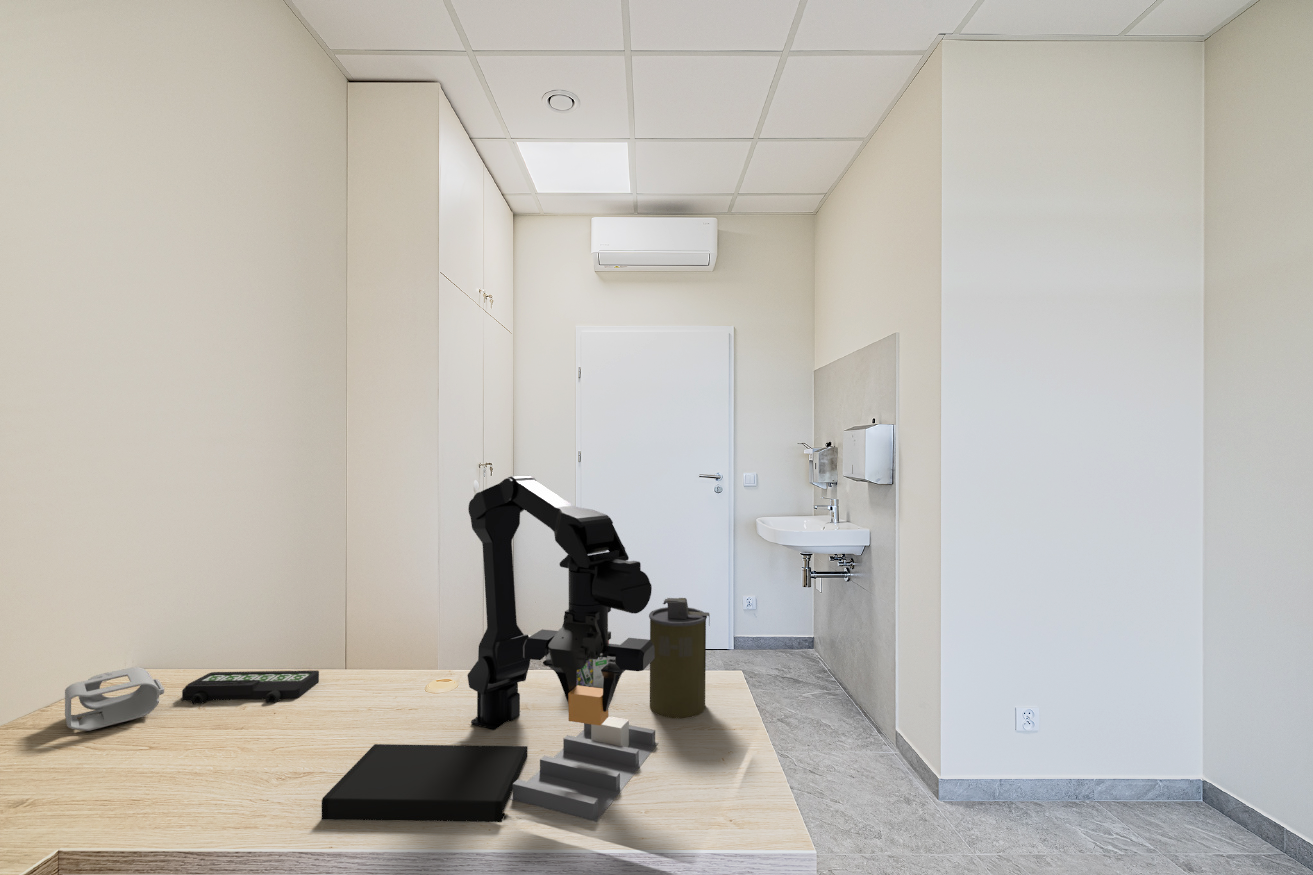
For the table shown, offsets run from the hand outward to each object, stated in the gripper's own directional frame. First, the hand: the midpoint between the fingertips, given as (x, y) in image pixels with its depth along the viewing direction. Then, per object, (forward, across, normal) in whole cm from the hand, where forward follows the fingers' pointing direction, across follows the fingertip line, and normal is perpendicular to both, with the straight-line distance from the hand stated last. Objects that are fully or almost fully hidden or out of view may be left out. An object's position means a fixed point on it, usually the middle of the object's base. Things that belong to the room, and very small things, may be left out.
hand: (588, 708), depth 88 cm
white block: (+8, +1, +6) cm, 10 cm away
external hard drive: (+10, -19, -10) cm, 24 cm away
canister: (+10, +7, +24) cm, 27 cm away
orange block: (+2, 0, 0) cm, 2 cm away
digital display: (+9, -73, +6) cm, 74 cm away
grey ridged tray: (+9, 0, 0) cm, 9 cm away
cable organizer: (+9, -86, -9) cm, 87 cm away
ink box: (+9, -13, +28) cm, 32 cm away
